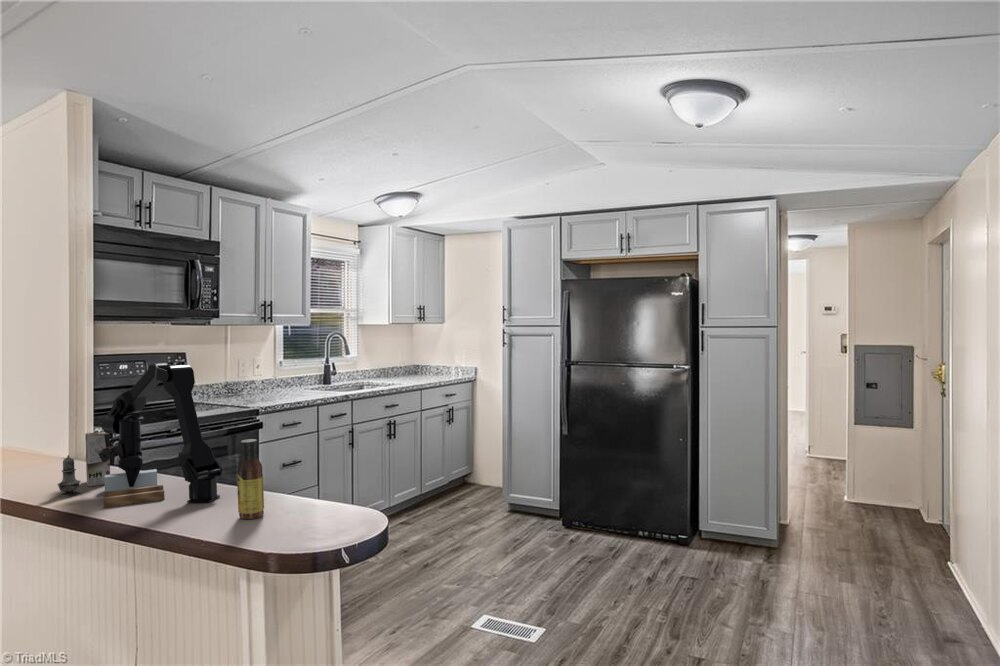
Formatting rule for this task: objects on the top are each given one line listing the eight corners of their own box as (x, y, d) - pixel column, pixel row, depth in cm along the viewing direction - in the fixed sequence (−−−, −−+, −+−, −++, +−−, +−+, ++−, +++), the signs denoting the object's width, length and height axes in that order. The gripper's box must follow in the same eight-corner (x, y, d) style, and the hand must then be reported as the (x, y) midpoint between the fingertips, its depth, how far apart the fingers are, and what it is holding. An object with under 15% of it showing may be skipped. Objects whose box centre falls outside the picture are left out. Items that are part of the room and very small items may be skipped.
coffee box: (111, 483, 208) (109, 433, 208) (87, 487, 204) (85, 436, 204) (109, 478, 215) (107, 430, 215) (86, 481, 212) (85, 432, 212)
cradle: (163, 492, 194) (163, 484, 194) (164, 499, 186) (164, 490, 186) (104, 500, 187) (104, 491, 186) (103, 507, 179) (103, 498, 179)
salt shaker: (69, 497, 191) (68, 457, 191) (52, 496, 192) (51, 456, 192) (85, 492, 197) (84, 453, 197) (69, 491, 198) (68, 452, 198)
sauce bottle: (244, 513, 170) (242, 438, 170) (268, 513, 170) (266, 437, 169) (233, 520, 163) (231, 442, 163) (258, 520, 163) (256, 441, 163)
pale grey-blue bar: (156, 484, 205) (156, 469, 205) (157, 487, 202) (156, 471, 202) (105, 491, 198) (104, 475, 198) (104, 493, 195) (104, 477, 195)
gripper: (100, 433, 204) (102, 483, 204) (98, 442, 188) (99, 495, 188) (141, 430, 210) (142, 478, 210) (141, 438, 193) (143, 490, 194)
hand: (131, 485), depth 200 cm, fingers closed on pale grey-blue bar, 4 cm apart
